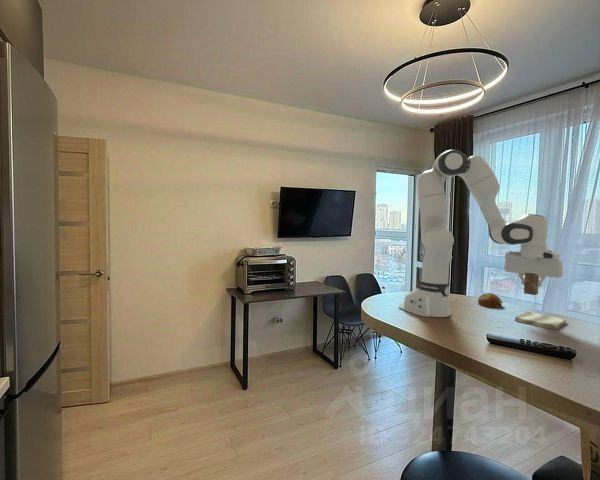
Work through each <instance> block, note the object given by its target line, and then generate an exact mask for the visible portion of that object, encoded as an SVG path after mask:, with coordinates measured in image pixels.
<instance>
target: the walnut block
mask: <svg viewBox="0 0 600 480" xmlns="http://www.w3.org/2000/svg"><path fill="white" fill-rule="evenodd" d="M524 280H525V281H524V284H523V294H524V295H525V294H526V295H534V296H536V295H539V286H536V285H537V282H539V281H540V276H538V275H536V274H534V273H525V274H524Z"/></svg>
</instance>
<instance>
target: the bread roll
mask: <svg viewBox="0 0 600 480" xmlns="http://www.w3.org/2000/svg"><path fill="white" fill-rule="evenodd" d="M477 303H478V304H479V305H480V306H483V307H487V308H495V309H497V308H501V307H502V306H503V305H502V304H504V302H503V301H502V300H501V298H500V297H499V296H498V295H496V294H494V293H492V292H484V293H483V294H481V295H480V296H478V299H477Z"/></svg>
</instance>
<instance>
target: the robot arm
mask: <svg viewBox="0 0 600 480" xmlns="http://www.w3.org/2000/svg"><path fill="white" fill-rule="evenodd" d="M455 176H458V177H459V178H461V179H462V180H463V181H464V184H465V185H466V187H467V189H468V190H469V192H470V193H471V195H472V197H473V198H474V200H475V201H476V202H477V204H478V207H479V209H480V211H481V212H482V215H483V217H484V220H485V221H486V223H487V226H488V236H489V238H490V239H491V241H492V242H493V243H495V244H498V245H499V244H500V245H510V246H511V245H515V246H516V245H519V244H520V251H512V250H509V251H507V252H506V253H505V255H504V260H505V262H504V272H506V273H514V274H518V277H519V279H520V280H521V285H524V281H525V273H534V274H536V275H538V276H539V282H537V285H536V286H538V287H542V286H543V282H544V281H545V279H547V278H546V277H548V278H555V279H557V278H558V279H559V278H562V277H563V276H564V275H563V274H564V267H563V262H562V261H561V260H560V258H561V253H559V252H556V251H553V250H550V249H547V246H548V245H547V243H546V242H547V241H546V240H547V237H548V221H547V219H546V217H545V216H543V215H539V214H532V213H527V214H524V215H523V216H521V217H520V218H516V219H515V220H511V221H506V220H505V219H504V217H503V215H502V214H501V212H500V209H499V208H498V205H497V202H496V198H497V196H498V194H499V192H500V188H501V187H500V184H499V181H498V180H499V179H497V176H496V175H495V173H494V171H493V170H492V168H491V167H490V165H489V164H488V163H487V161H486V160H485V159H484V158H483V157H482V156H481V155H471V156H469V155H467V154H466V153H463V152H462V151H461V150H458V149H448V150H445V151H444V152H442V153H441V154H439V155H438V156H437V157H436V158H435V160H434V161H433V162H432V164H431V167H430V168H429V170H425V171H424V172H422V173H420V174H419V175H418V178H417V200H418V207H419V215H420V216H419V217H420V218H419V221H420V239H421V243H422V245H423V246H424V253H423V254H424V255H423V259H422V263H421V265H422V266H421V269H422V271H421V280H419V281H416V286H417V288H415V289H413V290H412V291H410V292H409V293H407V294H406V296H405V297H404V302H403V303H400V304H399V305H398V309H400V310H403V311H405V310H406V312H408V313H412V314H415V315H418V316H420V317H429V318H431V317H434V318H447V317H449V316H451V314H452V312H451V309H450V302H449V295H450V294H449V293H450V283H449V274H450V271H449V270H450V261H451V258H452V253H453V252H452V251H453V245H454V243H455V238H454V235H453V233H452V232H451V231H450V230H449V229H448V228H447V213H448V209H447V208H448V207H447V201H446V194H445V182H446V180H447V179H450V178H453V177H455Z"/></svg>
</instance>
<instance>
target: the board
mask: <svg viewBox="0 0 600 480" xmlns="http://www.w3.org/2000/svg"><path fill="white" fill-rule="evenodd" d="M514 321H516V322H520V323H524V324H529V325H532V326H538V327H541V328H546V329H552V330H554V331H556V330H558V329H560V328H561V327H562V326H563V325H565V324H566V322H567V321H566V318H561V317H557V316H556V317H555V316H552V315H548V314H547V315H546V314H541V313H540V314H539V313H536V312H530V311H524V312H522V313H520V314H518V315H517V316H515V317H514Z"/></svg>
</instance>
